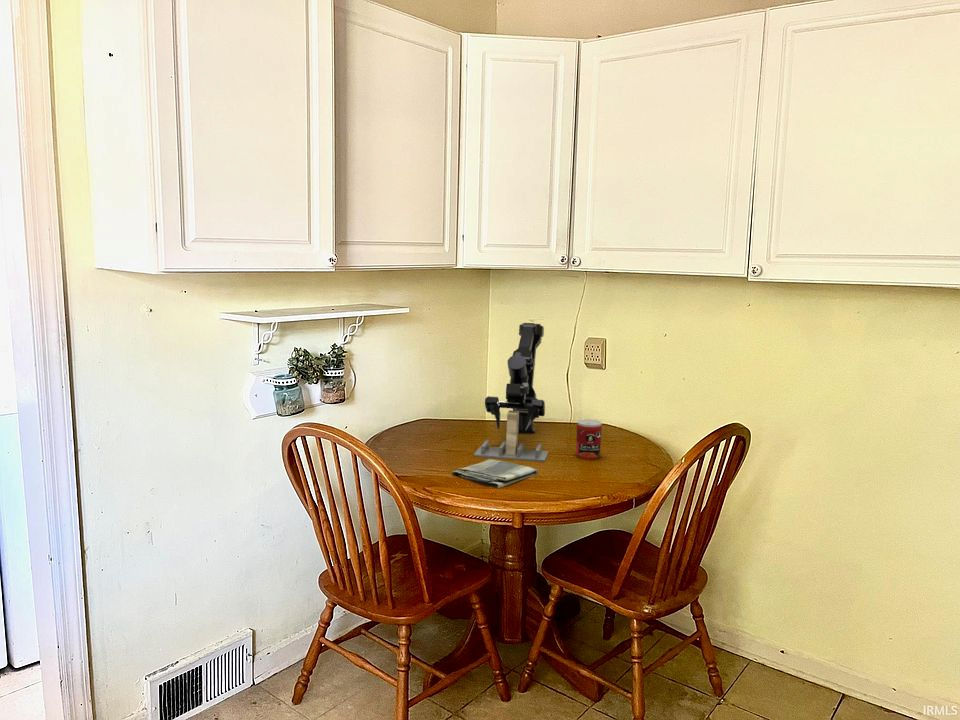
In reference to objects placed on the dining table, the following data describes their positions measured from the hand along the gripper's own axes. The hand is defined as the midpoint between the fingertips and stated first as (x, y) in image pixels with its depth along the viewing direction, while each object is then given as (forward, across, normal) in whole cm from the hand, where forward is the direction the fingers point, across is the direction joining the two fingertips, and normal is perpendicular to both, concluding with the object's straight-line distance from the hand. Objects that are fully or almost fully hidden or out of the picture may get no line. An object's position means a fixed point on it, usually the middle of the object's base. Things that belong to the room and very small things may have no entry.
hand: (511, 429), depth 224 cm
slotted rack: (+5, 0, +7) cm, 9 cm away
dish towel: (+21, -2, -7) cm, 22 cm away
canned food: (+2, +24, +11) cm, 26 cm away
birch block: (+5, 0, +7) cm, 8 cm away
